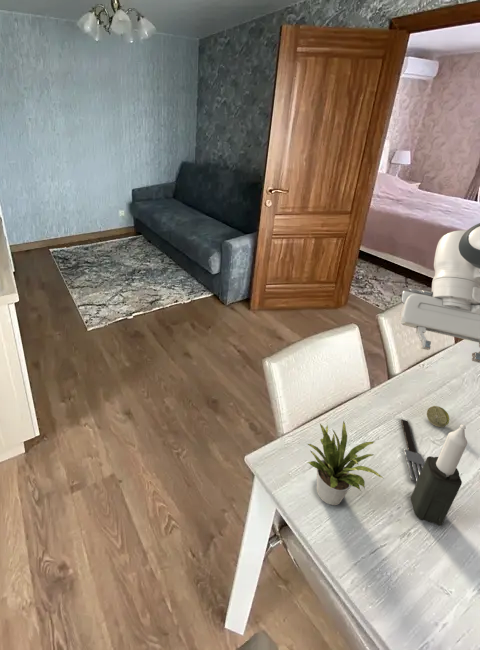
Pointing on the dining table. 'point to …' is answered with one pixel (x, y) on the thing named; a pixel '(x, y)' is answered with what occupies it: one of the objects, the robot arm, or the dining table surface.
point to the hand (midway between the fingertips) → (450, 355)
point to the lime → (437, 416)
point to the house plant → (338, 467)
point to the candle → (439, 480)
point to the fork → (411, 452)
